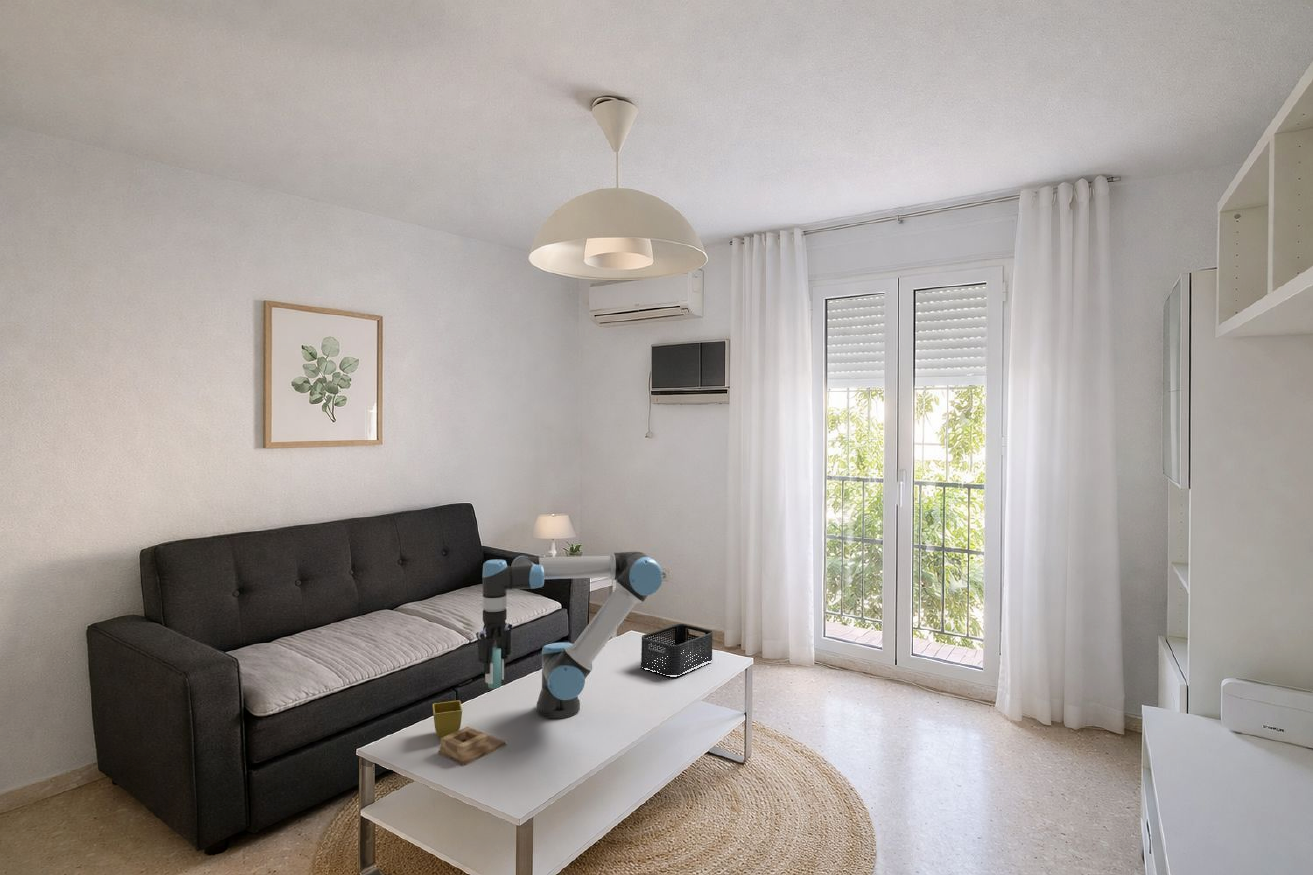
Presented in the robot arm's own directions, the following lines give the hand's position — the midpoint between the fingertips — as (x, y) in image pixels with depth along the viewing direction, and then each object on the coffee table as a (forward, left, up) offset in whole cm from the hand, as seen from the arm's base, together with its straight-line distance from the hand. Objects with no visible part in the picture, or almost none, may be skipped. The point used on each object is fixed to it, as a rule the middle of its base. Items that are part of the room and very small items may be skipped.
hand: (494, 680), depth 221 cm
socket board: (+11, +3, -17) cm, 21 cm away
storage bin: (-89, +12, -18) cm, 91 cm away
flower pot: (+9, -12, -17) cm, 23 cm away
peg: (0, 0, -2) cm, 2 cm away
